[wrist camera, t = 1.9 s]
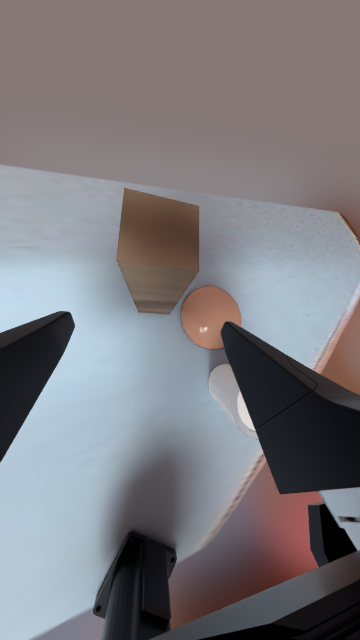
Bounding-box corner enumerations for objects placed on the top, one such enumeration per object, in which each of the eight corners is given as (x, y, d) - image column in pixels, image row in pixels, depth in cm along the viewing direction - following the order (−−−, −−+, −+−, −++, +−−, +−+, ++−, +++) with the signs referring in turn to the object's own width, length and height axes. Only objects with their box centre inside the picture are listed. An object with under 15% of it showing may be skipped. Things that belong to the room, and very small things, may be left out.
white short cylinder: (249, 399, 21) (295, 427, 14) (209, 413, 19) (240, 451, 13) (238, 355, 22) (278, 362, 15) (199, 365, 20) (224, 377, 13)
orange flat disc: (222, 360, 21) (224, 361, 20) (168, 326, 20) (169, 326, 19) (246, 309, 23) (249, 308, 23) (200, 276, 22) (201, 274, 22)
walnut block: (169, 314, 20) (198, 271, 8) (138, 312, 19) (116, 259, 7) (170, 286, 21) (198, 206, 9) (140, 283, 20) (124, 187, 8)
